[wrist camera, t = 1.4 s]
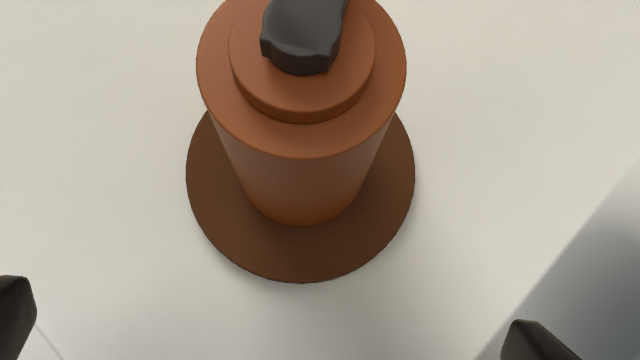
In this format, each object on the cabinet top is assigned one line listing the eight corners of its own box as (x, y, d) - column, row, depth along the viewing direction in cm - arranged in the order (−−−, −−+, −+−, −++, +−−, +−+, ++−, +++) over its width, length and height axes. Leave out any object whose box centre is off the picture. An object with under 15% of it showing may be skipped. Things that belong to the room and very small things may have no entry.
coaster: (386, 310, 21) (389, 310, 21) (155, 249, 22) (151, 247, 21) (431, 98, 24) (434, 93, 24) (228, 47, 25) (226, 41, 24)
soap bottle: (347, 241, 22) (395, 161, 11) (222, 208, 22) (143, 97, 11) (378, 114, 23) (446, -65, 13) (262, 85, 24) (230, -116, 13)
